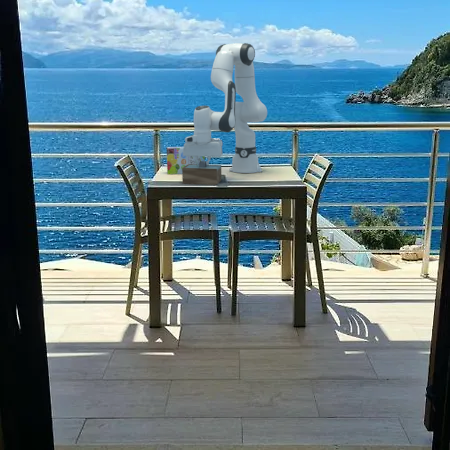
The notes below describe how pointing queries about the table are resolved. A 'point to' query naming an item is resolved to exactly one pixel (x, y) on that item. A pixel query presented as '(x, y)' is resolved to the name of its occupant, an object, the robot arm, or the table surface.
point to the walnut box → (201, 175)
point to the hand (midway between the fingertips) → (202, 165)
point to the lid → (203, 166)
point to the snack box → (179, 160)
